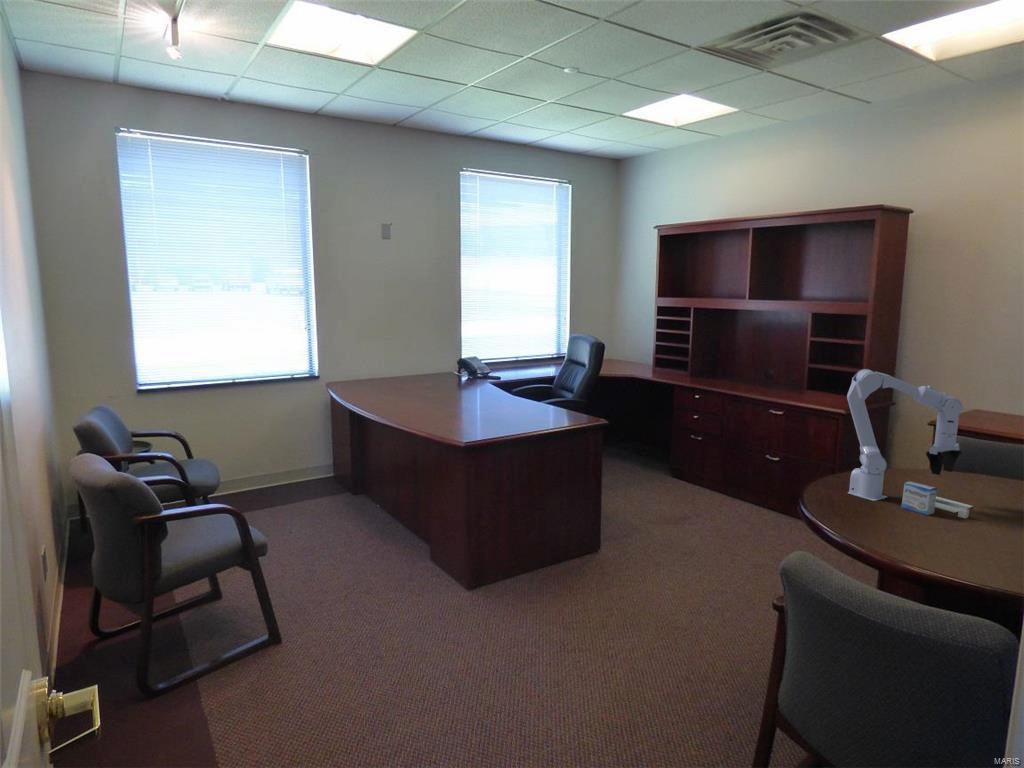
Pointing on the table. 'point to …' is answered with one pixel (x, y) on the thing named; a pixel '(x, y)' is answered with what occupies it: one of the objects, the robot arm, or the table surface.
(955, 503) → the grey bar
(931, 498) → the medicine box
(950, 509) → the sage mat
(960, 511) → the gray bar handle
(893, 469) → the table surface
